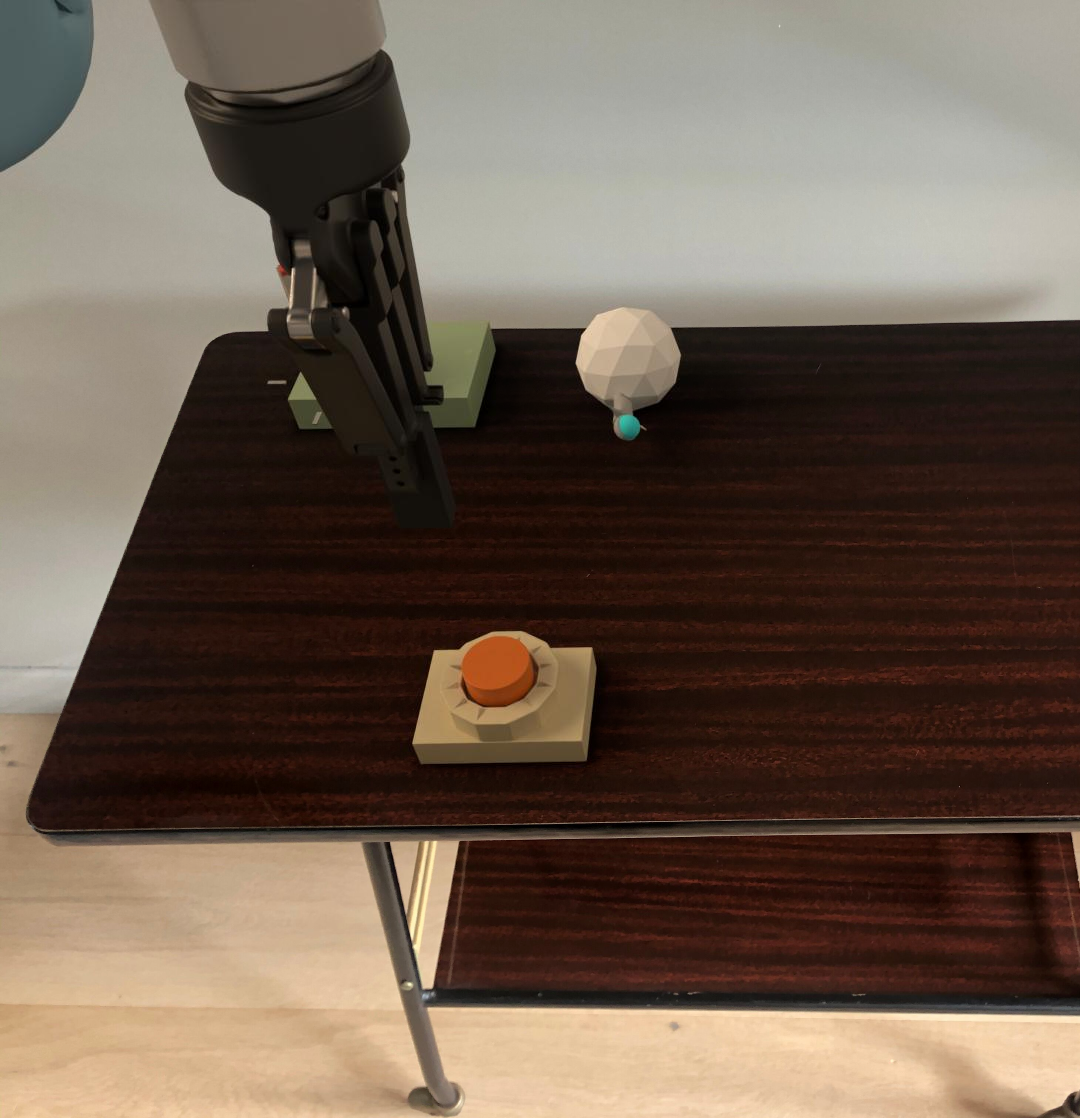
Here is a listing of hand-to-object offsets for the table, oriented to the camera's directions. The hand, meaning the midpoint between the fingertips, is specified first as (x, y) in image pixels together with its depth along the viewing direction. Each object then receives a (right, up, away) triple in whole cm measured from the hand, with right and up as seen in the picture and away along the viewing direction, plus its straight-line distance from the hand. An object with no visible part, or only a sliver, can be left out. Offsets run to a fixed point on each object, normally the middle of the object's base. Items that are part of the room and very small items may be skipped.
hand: (427, 517), depth 59 cm
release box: (+2, -12, +12) cm, 17 cm away
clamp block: (-13, +11, +33) cm, 37 cm away
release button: (+2, -9, +9) cm, 13 cm away
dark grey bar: (-16, +12, +30) cm, 36 cm away
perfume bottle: (+8, +9, +31) cm, 34 cm away
